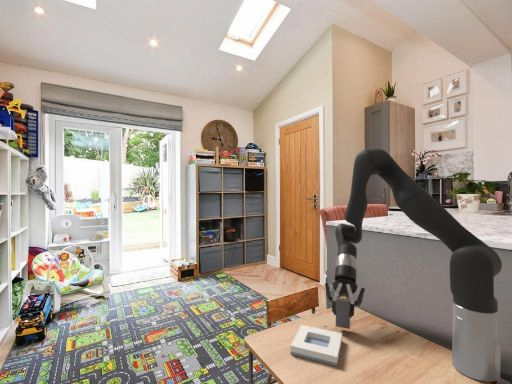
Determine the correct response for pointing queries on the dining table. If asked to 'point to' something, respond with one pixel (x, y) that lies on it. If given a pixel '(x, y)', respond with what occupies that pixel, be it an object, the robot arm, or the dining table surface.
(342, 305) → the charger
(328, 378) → the dining table surface
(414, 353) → the dining table surface
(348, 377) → the dining table surface
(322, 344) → the dock
